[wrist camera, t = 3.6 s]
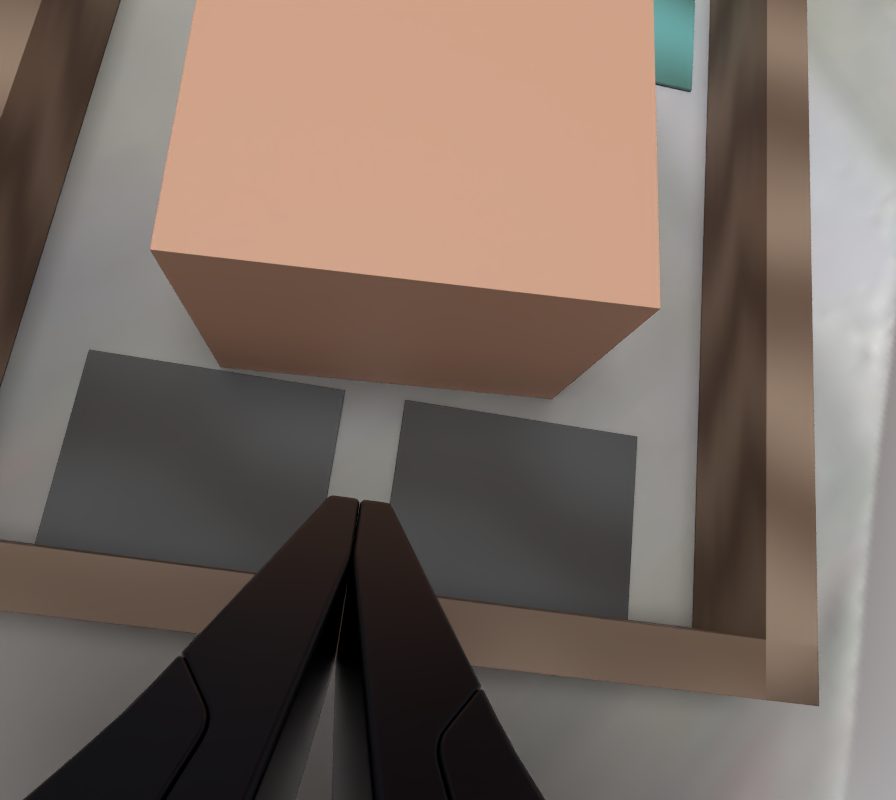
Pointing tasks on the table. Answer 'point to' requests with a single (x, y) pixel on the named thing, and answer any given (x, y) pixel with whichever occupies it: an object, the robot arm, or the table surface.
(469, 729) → the robot arm
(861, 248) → the table surface
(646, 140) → the terracotta block
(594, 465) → the shallow wooden tray box
